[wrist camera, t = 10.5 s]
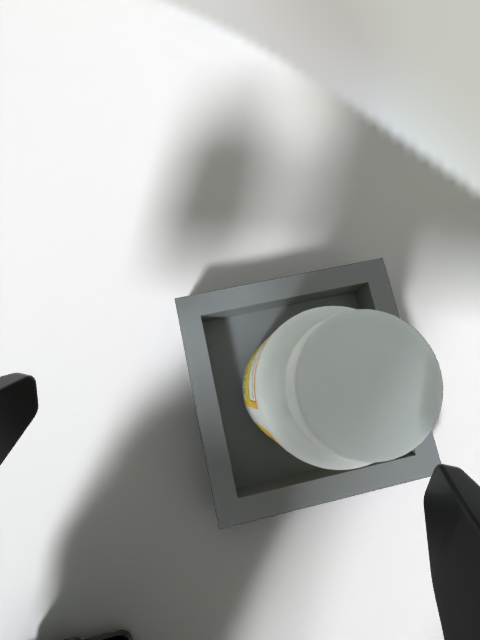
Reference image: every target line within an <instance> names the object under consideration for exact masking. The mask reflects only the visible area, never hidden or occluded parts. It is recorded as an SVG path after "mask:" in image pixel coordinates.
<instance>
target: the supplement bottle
mask: <svg viewBox="0 0 480 640" xmlns="http://www.w3.org/2000/svg"><path fill="white" fill-rule="evenodd" d="M242 391H243V399H244V403H245V406H246V409H247V411H248V413H249V415H250V417H251V419H252V420H253V421H254V423H255V424H256V425H257V426H258V427H259V428H260V429H261V430H262V431H263V432H264V433H265V434H266V435H268V436H269V437H270V438H272V439H273V440H274V441H275V442H277V443H278V444H279V445H280V446H282V447H283V448H284V449H285V450H286V451H288V452H289V453H291V454H292V455H293V456H295V457H296V458H298V459H300V460H302V461H304V462H306V463H308V464H311V465H314V466H317V467H320V468H325V469H332V470H349V469H355V468H360V467H364V466H367V465H369V464H372V463H375V462H384V461H389V460H393V459H396V458H398V457H401V456H403V455H405V454H407V453H409V452H410V451H412V450H413V449H415V448H416V447H417V446H418V445H419V444H421V443H422V442H423V441H424V439H425V438H426V437H427V436H428V434H429V433H430V432H431V430H432V428H433V427H434V425H435V423H436V421H437V419H438V416H439V414H440V410H441V406H442V399H443V380H442V375H441V370H440V367H439V363H438V361H437V359H436V356H435V354H434V352H433V350H432V349H431V347H430V345H429V344H428V343H427V341H426V340H425V339H424V338H423V336H422V335H421V334H420V333H419V332H418V331H417V330H416V329H415V328H413V327H412V326H411V325H410V324H408V323H407V322H405V321H403V320H402V319H400V318H398V317H396V316H394V315H392V314H389V313H386V312H382V311H378V310H371V309H358V310H357V309H353V308H349V307H343V306H324V307H317V308H313V309H309V310H306V311H303V312H301V313H299V314H297V315H295V316H294V317H292V318H290V319H289V320H287V321H286V322H285V323H283V324H282V325H281V326H280V327H279V328H278V329H277V330H276V331H274V332H273V334H272V335H271V336H269V338H268V339H267V340H266V341H265V342H264V343H263V344H261V345H260V346H259V348H258V349H257V350H256V351H255V352H254V353H253V355H252V356H251V358H250V360H249V362H248V364H247V366H246V369H245V372H244V376H243V384H242Z"/></svg>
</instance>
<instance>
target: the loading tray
mask: <svg viewBox="0 0 480 640" xmlns="http://www.w3.org/2000/svg"><path fill="white" fill-rule="evenodd" d="M175 303H176V308H177V314H178V319H179V324H180V329H181V334H182V339H183V344H184V350H185V355H186V360H187V365H188V370H189V375H190V381H191V386H192V391H193V396H194V401H195V406H196V412H197V417H198V422H199V427H200V432H201V437H202V443H203V448H204V453H205V458H206V463H207V468H208V474H209V479H210V484H211V489H212V494H213V499H214V505H215V510H216V515H217V520H218V525H219V529H223V528H227V527H231V526H235V525H239V524H243V523H247V522H251V521H255V520H259V519H263V518H267V517H271V516H275V515H279V514H283V513H287V512H291V511H295V510H299V509H303V508H307V507H311V506H315V505H319V504H323V503H327V502H331V501H335V500H339V499H343V498H347V497H351V496H355V495H359V494H363V493H367V492H371V491H375V490H379V489H383V488H387V487H390V486H394V485H398V484H402V483H406V482H410V481H414V480H418V479H422V478H426V477H430V476H432V473H433V471H434V468H435V467H436V466H437V465H438V464H441V461H440V458H439V454H438V451H437V447H436V444H435V440H434V437H433V433H432V430H431V432H430V433H429V434H428V436H427V437H426V438H425V439H424V441H423V442H422V443H421V444H419V445H418V446H417V447H416V448H415V449H413V450H412V451H410V452H409V453H407V454H405V455H403V456H401V457H398V458H396V459H393V460H389V461H384V462H375V463H372V464H369V465H367V466H364V467H360V468H355V469H349V470H332V469H325V468H320V467H317V466H314V465H311V464H308V463H306V462H304V461H302V460H300V459H298V458H296V457H295V456H293V455H292V454H291V453H289V452H288V451H286V450H285V449H284V448H283V447H282V446H280V445H279V444H278V443H277V442H275V441H274V440H273V439H272V438H270V437H269V436H268V435H266V434H265V433H264V432H263V431H262V430H261V429H260V428H259V427H258V426H257V425H256V424H255V423H254V421H253V420H252V419H251V417H250V415H249V413H248V411H247V409H246V406H245V403H244V399H243V391H242V384H243V376H244V372H245V369H246V366H247V364H248V362H249V360H250V358H251V356H252V355H253V353H254V352H255V351H256V350H257V349H258V348H259V346H260V345H261V344H263V343H264V342H265V341H266V340H267V339H268V338H269V336H271V335H272V334H273V332H274V331H276V330H277V329H278V328H279V327H280V326H281V325H282V324H283V323H285V322H286V321H287V320H289V319H290V318H292V317H294V316H295V315H297V314H299V313H301V312H303V311H306V310H309V309H313V308H317V307H324V306H343V307H349V308H353V309H357V310H358V309H371V310H378V311H382V312H386V313H389V314H392V315H394V316H396V317H398V318H399V314H398V311H397V307H396V304H395V300H394V297H393V293H392V290H391V286H390V283H389V279H388V276H387V272H386V269H385V265H384V262H383V258H380V259H375V260H370V261H365V262H360V263H355V264H349V265H344V266H339V267H334V268H329V269H324V270H319V271H314V272H308V273H303V274H298V275H293V276H288V277H283V278H278V279H272V280H267V281H262V282H257V283H252V284H247V285H242V286H237V287H231V288H226V289H221V290H216V291H211V292H206V293H201V294H196V295H190V296H185V297H180V298H175Z"/></svg>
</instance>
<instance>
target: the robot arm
mask: <svg viewBox="0 0 480 640" xmlns="http://www.w3.org/2000/svg"><path fill="white" fill-rule="evenodd" d="M37 410H38V397H37V387H36V380H35V378H34V377H33V376H31V375H26V374H22V373H12V374H9V375H5V376H1V377H0V465H1V464H2V462H3V461H4V459H5V458H6V457H7V455H8V454H9V452H10V451H11V450H12V448H13V447H14V445H15V444H16V442H17V441H18V440H19V438H20V437H21V435H22V434H23V433H24V431H25V430H26V428H27V427H28V425H29V424H30V423H31V421H32V420H33V418H34V417H35V415H36V413H37ZM424 513H425V522H426V531H427V541H428V550H429V560H430V569H431V577H432V583H433V588H434V594H435V598H436V603H437V607H438V612H439V617H440V621H441V626H442V630H443V635H444V639H445V640H480V486H479V485H478V484H477V483H476V482H475V481H473V480H472V479H471V478H470V477H469V476H468V475H467V474H466V473H465V472H464V471H463V470H462V469H460V468H458V467H455V466H450V465H445V464H438V465H437V466H436V467H435V468H434V471H433V473H432V476H431V479H430V481H429V484H428V486H427V489H426V492H425V495H424ZM65 640H83V639H81V638H79V637H73V638H69V639H65ZM85 640H133V638H132V635H131V634H130V633H129V632H128V631H125V630H119V631H115V632H111V633H108V634H104V635H100V636H96V637H93V638H89V639H85Z"/></svg>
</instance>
